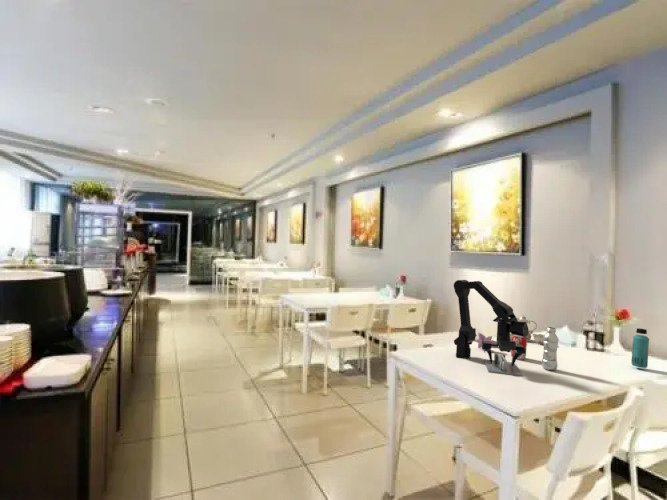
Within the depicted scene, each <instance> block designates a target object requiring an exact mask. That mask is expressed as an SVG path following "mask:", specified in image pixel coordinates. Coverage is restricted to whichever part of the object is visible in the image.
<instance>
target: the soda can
mask: <svg viewBox="0 0 667 500" xmlns="http://www.w3.org/2000/svg"><path fill="white" fill-rule="evenodd" d="M511 341H514V342H516V344H518V345H523V346H524V348H525V354H522V355H519V356H518V357H517V359H516V360H518V361H523V360H525V359H526V357H527V347H528V346H527V343H528V342H527V339H526V337H522V336H518V335H514V336H513V337H512V340H511ZM510 356H511V357H512V356H513V350H511V352H510Z"/></svg>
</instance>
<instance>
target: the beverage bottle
mask: <svg viewBox="0 0 667 500" xmlns="http://www.w3.org/2000/svg"><path fill="white" fill-rule="evenodd" d="M635 332H636V333H637V334H635V335H634V336H633V337H632V339H633V340H632V349H631V351H632V352H631V362H630V363H631V365H632V366H633V367H636V368H642V369H647V368H648V366H649V364H648V363H649V348H650V347H649V346H650V345H649V344H650V338H649V337H648V336H646V335H647V334H648V330H647V329H645V328H639V327H638V328H636V331H635Z"/></svg>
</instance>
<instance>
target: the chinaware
mask: <svg viewBox="0 0 667 500" xmlns="http://www.w3.org/2000/svg"><path fill="white" fill-rule="evenodd" d="M516 318H517V319H518V321H522V322H523V321H524V322H527V325H528V324H531V322H532V323H534V324H535V327H534V329H532V330H529V331H528V335H527V336H526V339H527V343H529V342H530V341H531V339H532V336H533V340H534V342H536V344H537V345H539V344H540V345H539V346H543V345H544V344H543V336H544V335H545V334H541V333H540V334H537V333H534V331H536V329H537V327H538V325H537V322H536V321H534V320H530V319H528V318H527V317H526V316H525V315H524V314H522V315H521V316H519V317H516ZM513 336H514V335H513V334H512V333H510V341H512V337H513ZM542 344H543V345H542Z"/></svg>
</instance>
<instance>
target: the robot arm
mask: <svg viewBox="0 0 667 500" xmlns="http://www.w3.org/2000/svg"><path fill="white" fill-rule="evenodd" d="M453 288H454V293H455V295H456V296H457V298H458V308H459V309H458V310H459V318H460V319H459V320H460V321H459V322H460V327H459V330H458V337H456V338H455V339H454V340H453V343H454V344H453V345H455V346H456V349H455V351H456V353H455V357H456V358H458V359H459V358H461V359H468V360H469V359H470V358H471V351H472V349H471V346H472V344H473V342H475V341H474V340H476V339H477V338H476V337H478V334H477V332H476V331H477V329H476V327H473V326H472V324H471V315H470V314H471V313H470V303H469V295H470V292H471V290H473V289H474V290H475V291H476V292H477V293H478V294H479V295H480V296H481V297H482V298H483V299H484V300H485V301H486V302H487V303H488V305H490V306H491V308H492V311H493V313H495V315H496V318H494V319H492V322H495V323H497V325H496V326H497V327H496V340H495V341H496V344H491V343H490V342H489V341H482V342H481V349H483V350H485V352H487V355H488V358H489V359H488V360H490V362H491V364H492V360H493V355H492V353H493V352H492V349H499V351H500V352H507V353H511V350H513V356H511V362H512V367H513V365H514V363H515V364H516V361H517V360H518V359H517V357H518V356H519V355H522V354H525V348H524V346H523V345H518V344H516V342H514V341H512V340H511V341H510V333H512V334H513V335H518V336H522V337H526V336H527V335H528V331H530V330H529V326H528V324H527V322H524V321H523V322H522V321H518V319H517V318H518V317H517V316H516V315H515V313H514V309H513V308H512V306H510V305H508V303H505V302H504V301H501V300H500V299H499V298H498V297H497V296H496V295H495V294H494V293H493V292H492V291H490V290H489V289H488V288H487V286H485V285H484V284H483V282H482V281H481V280H475V281H468V280H467V279H457V280H455V282H454V283H453ZM470 345H471V346H470Z"/></svg>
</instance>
